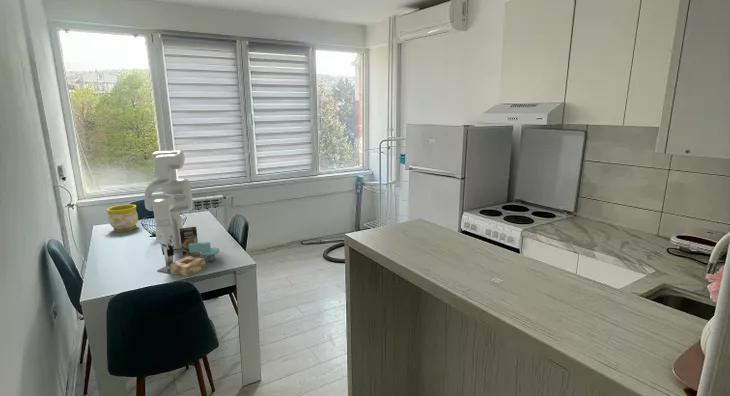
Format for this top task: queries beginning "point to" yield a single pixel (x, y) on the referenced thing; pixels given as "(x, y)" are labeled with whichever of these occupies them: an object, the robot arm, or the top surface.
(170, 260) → the hook peg
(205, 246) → the teal toy sofa
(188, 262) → the block
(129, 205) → the flowerpot
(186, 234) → the coffee box
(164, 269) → the place mat
